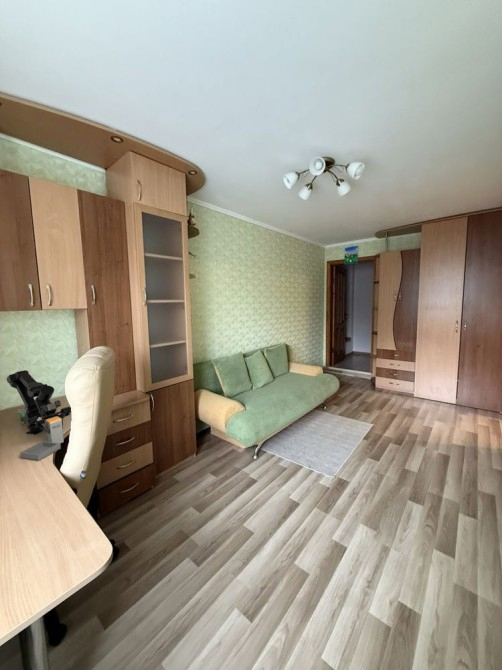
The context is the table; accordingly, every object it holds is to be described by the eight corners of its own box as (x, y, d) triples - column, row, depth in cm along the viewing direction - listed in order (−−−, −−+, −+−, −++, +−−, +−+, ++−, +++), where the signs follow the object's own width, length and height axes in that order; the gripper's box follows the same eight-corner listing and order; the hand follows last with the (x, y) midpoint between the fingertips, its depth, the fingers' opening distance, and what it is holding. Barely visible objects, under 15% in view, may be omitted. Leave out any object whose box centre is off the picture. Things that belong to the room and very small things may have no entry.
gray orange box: (48, 443, 135) (45, 419, 134) (59, 439, 139) (57, 416, 138) (52, 446, 132) (50, 422, 131) (64, 442, 136) (61, 418, 135)
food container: (27, 426, 155) (25, 409, 154) (19, 425, 156) (17, 409, 155) (47, 417, 167) (45, 402, 166) (39, 416, 168) (37, 401, 167)
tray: (20, 458, 122) (20, 452, 122) (43, 446, 133) (42, 440, 132) (38, 461, 120) (38, 455, 120) (60, 448, 130) (60, 443, 130)
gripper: (24, 402, 128) (36, 430, 123) (68, 391, 143) (80, 415, 138) (20, 415, 133) (31, 442, 128) (63, 403, 148) (74, 426, 144)
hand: (55, 430), depth 134 cm, fingers open, 5 cm apart
